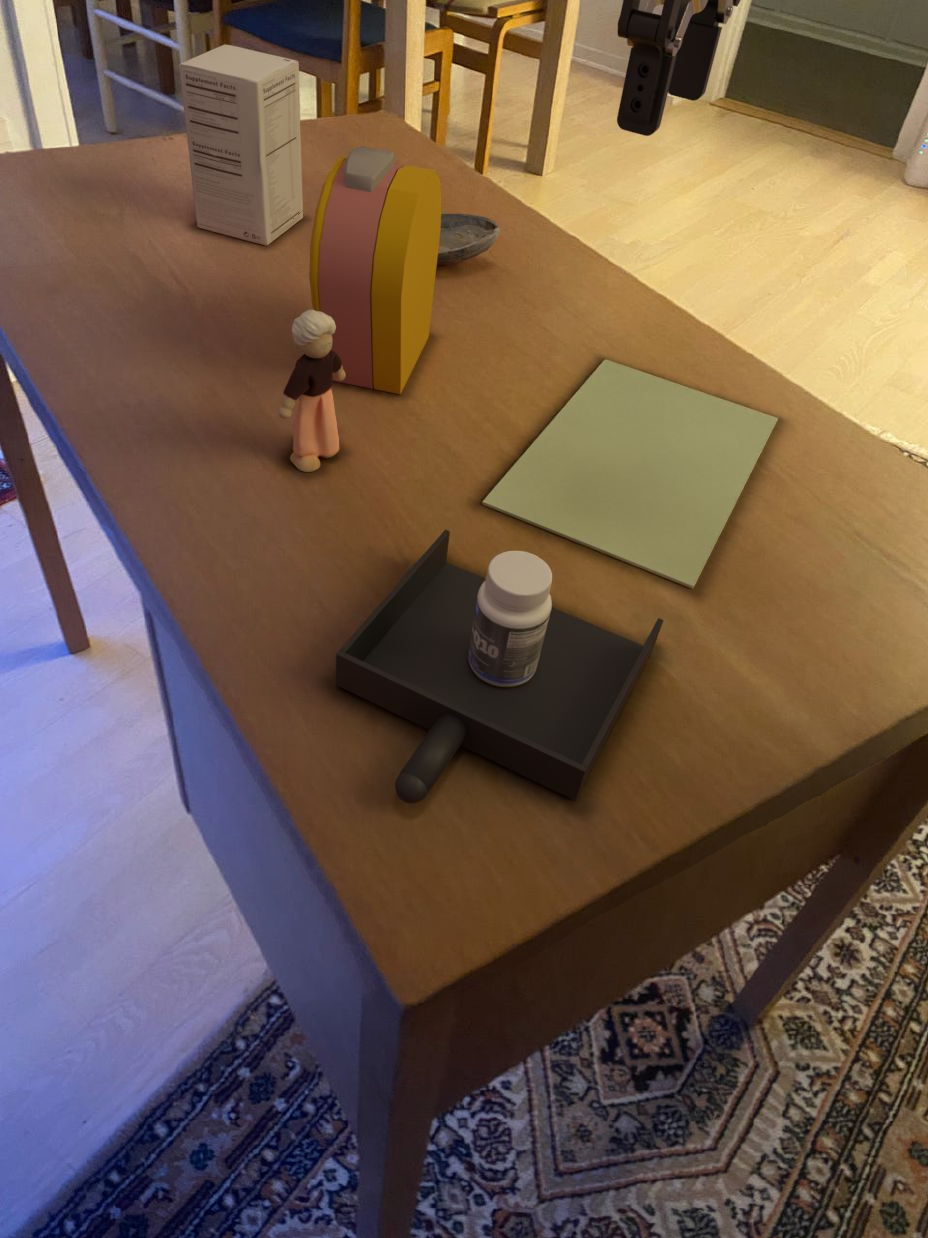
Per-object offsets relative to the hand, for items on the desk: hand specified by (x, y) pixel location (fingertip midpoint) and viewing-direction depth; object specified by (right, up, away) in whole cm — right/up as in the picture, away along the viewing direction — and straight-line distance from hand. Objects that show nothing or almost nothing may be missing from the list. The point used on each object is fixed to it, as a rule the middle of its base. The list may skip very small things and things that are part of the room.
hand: (661, 112), depth 51 cm
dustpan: (-10, -34, +8) cm, 36 cm away
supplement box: (-36, +18, +55) cm, 68 cm away
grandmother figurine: (-23, -15, +25) cm, 37 cm away
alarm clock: (-20, -3, +37) cm, 42 cm away
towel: (+5, -14, +29) cm, 33 cm away
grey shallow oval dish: (-16, +13, +53) cm, 57 cm away
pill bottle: (-9, -32, +10) cm, 34 cm away
